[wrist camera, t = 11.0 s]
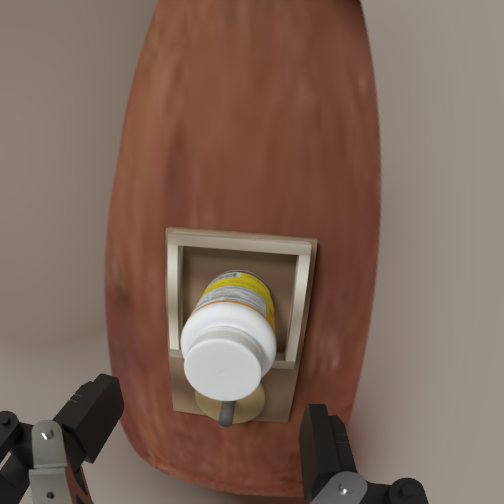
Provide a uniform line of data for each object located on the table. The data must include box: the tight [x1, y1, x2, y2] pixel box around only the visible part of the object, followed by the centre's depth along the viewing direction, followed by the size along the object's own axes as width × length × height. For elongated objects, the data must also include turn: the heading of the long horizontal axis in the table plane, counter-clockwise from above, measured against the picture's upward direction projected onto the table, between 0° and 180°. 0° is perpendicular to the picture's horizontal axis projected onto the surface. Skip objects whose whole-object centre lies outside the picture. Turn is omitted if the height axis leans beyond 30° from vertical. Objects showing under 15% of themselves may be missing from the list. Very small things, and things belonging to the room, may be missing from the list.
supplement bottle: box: [181, 270, 276, 401], centre depth 18 cm, size 6×6×10 cm
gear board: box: [165, 227, 318, 427], centre depth 22 cm, size 19×12×6 cm, turn 176°
